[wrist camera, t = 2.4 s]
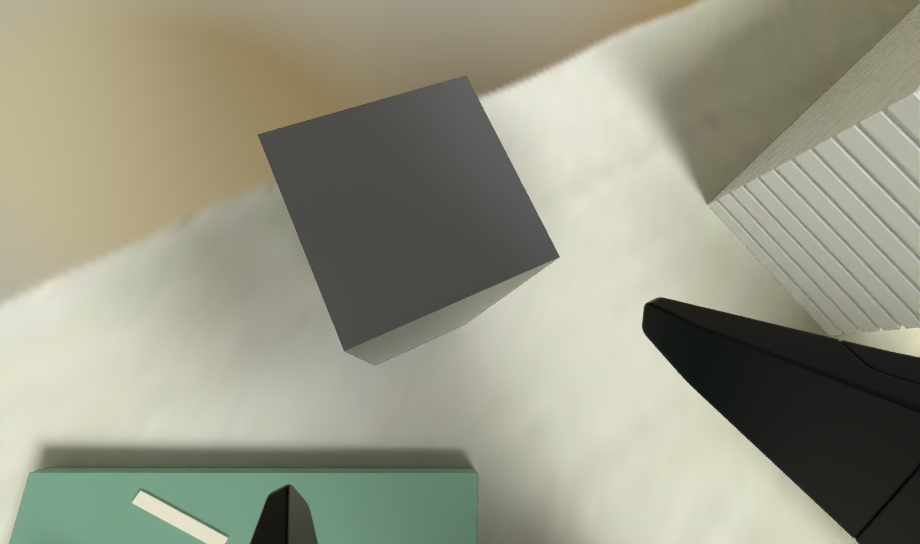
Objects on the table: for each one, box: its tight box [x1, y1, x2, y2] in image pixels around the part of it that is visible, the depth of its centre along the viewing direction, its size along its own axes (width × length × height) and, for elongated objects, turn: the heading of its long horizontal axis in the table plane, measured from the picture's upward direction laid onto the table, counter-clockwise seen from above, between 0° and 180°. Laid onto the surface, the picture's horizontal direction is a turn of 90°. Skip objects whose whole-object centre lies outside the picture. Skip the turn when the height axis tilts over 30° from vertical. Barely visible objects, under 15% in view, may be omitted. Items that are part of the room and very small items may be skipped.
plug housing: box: [258, 76, 560, 365], centre depth 15 cm, size 5×5×12 cm
